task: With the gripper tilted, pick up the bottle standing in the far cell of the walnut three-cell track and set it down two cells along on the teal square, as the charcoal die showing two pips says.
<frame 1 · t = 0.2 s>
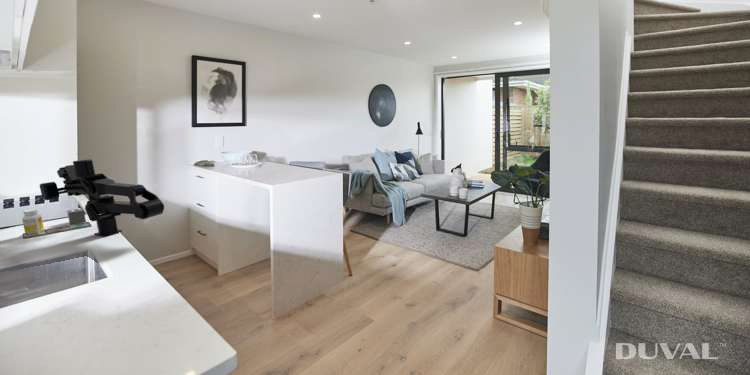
hand: (58, 187, 144), 17 cm above the counter, tool horizontal, fingers open, 9 cm apart
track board: (58, 230, 143), on the counter
supplement bottle: (35, 235, 139), resting in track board
die: (77, 221, 154), on the counter
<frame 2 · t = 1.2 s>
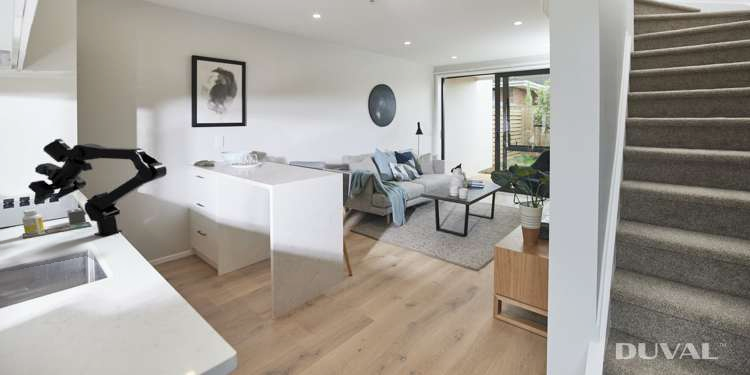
hand: (46, 200, 136), 13 cm above the counter, tool tilted 45°, fingers open, 9 cm apart
nothing on the counter moved.
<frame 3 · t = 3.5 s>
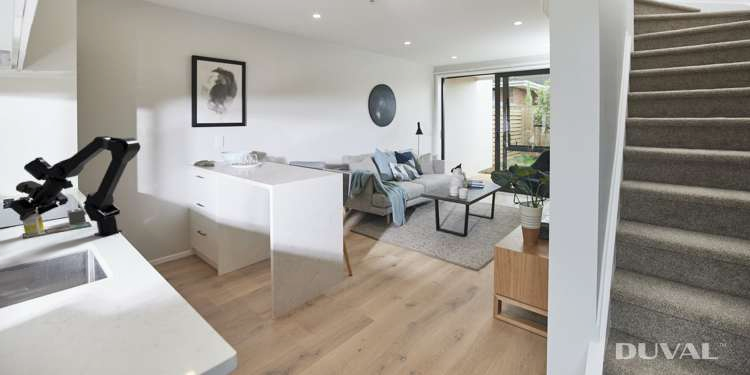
hand: (28, 217, 137), 7 cm above the counter, tool tilted 45°, fingers closed on supplement bottle, 5 cm apart
supplement bottle: (35, 235, 139), resting in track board, touching gripper
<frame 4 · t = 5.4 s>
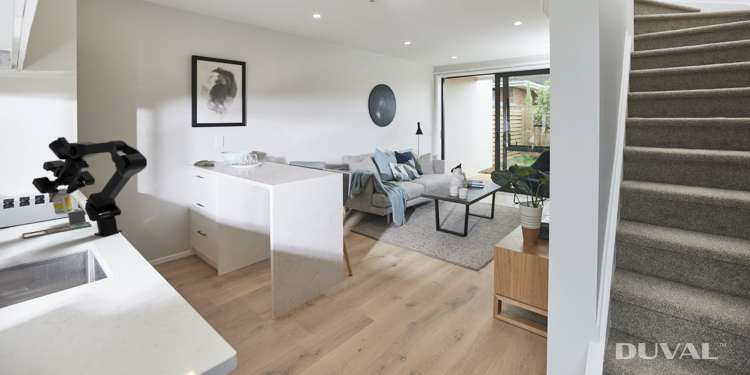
hand: (58, 195, 143), 13 cm above the counter, tool tilted 45°, fingers closed on supplement bottle, 5 cm apart
supplement bottle: (64, 213, 144), point 6 cm above the counter, touching gripper
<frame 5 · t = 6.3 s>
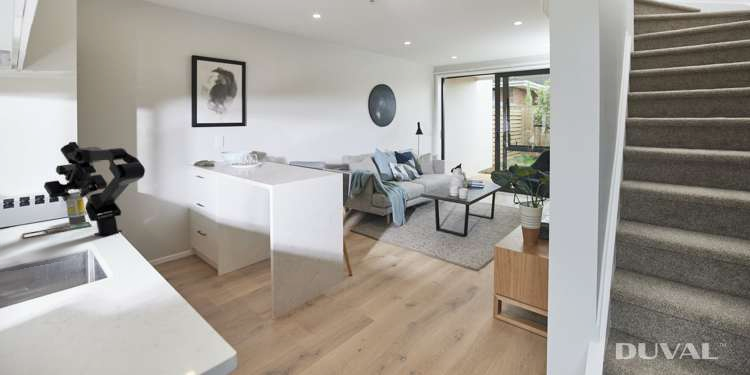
hand: (72, 198, 146), 11 cm above the counter, tool tilted 45°, fingers closed on supplement bottle, 5 cm apart
supplement bottle: (77, 216, 147), point 4 cm above the counter, touching gripper
when the fingers open (8 cm above the counter, at t = 7.5 s): supplement bottle stays where it is, resting on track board.
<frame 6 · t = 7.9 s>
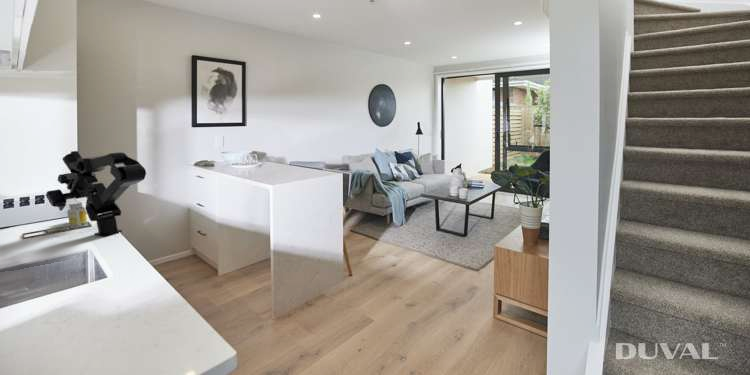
hand: (73, 206, 147), 8 cm above the counter, tool tilted 45°, fingers open, 9 cm apart
supplement bottle: (79, 226, 148), resting on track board
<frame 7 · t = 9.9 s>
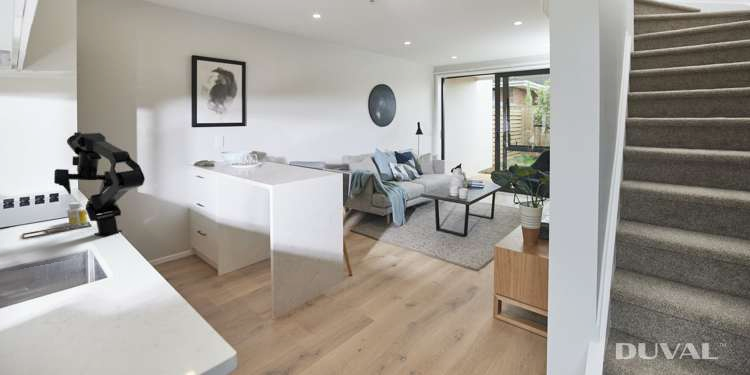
hand: (85, 194, 143), 14 cm above the counter, tool tilted 35°, fingers open, 9 cm apart
nothing on the counter moved.
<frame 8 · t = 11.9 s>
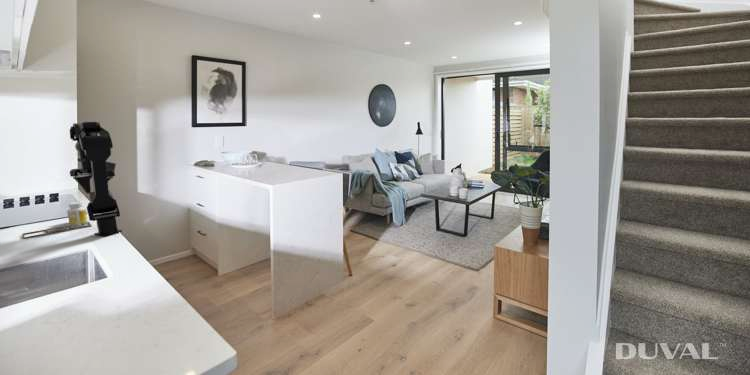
hand: (96, 194, 146), 13 cm above the counter, tool pointing down, fingers open, 9 cm apart
nothing on the counter moved.
at the end: supplement bottle 0.2 cm from the target spot on the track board, point 0.0 cm above the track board's base; supplement bottle tilted 0°; the gripper is holding nothing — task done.
